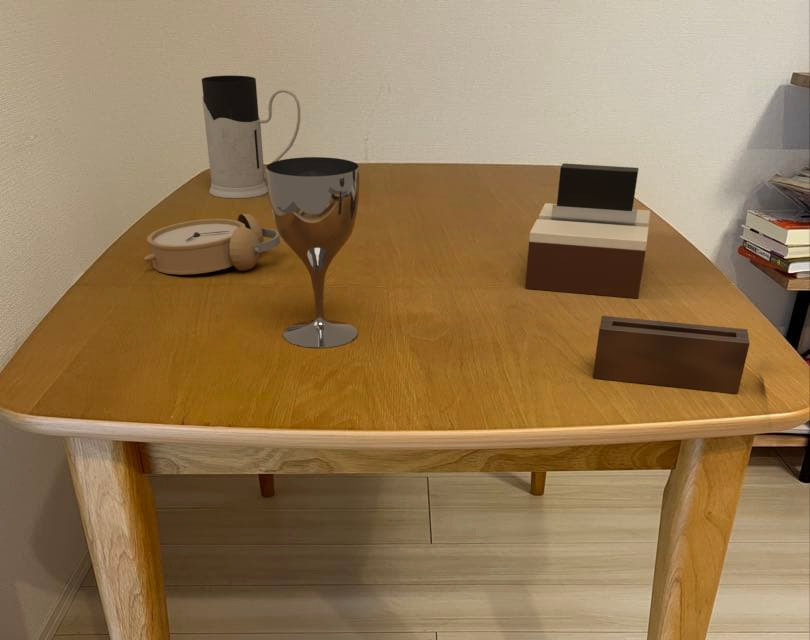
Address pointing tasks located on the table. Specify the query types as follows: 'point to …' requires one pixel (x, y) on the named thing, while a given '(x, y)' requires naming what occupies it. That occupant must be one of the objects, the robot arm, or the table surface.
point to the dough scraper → (596, 194)
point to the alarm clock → (209, 245)
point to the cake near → (586, 258)
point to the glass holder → (236, 136)
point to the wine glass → (315, 230)
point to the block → (671, 354)
